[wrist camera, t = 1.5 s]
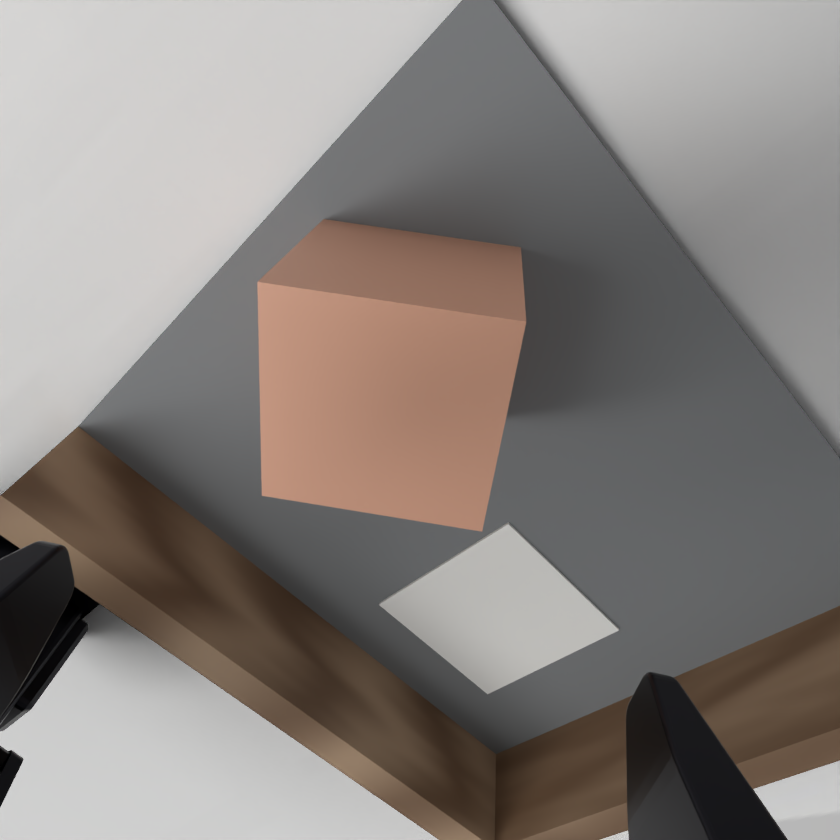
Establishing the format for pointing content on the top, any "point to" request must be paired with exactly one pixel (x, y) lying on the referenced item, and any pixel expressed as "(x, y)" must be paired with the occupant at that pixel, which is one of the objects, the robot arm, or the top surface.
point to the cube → (388, 371)
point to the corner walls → (382, 690)
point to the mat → (516, 419)
